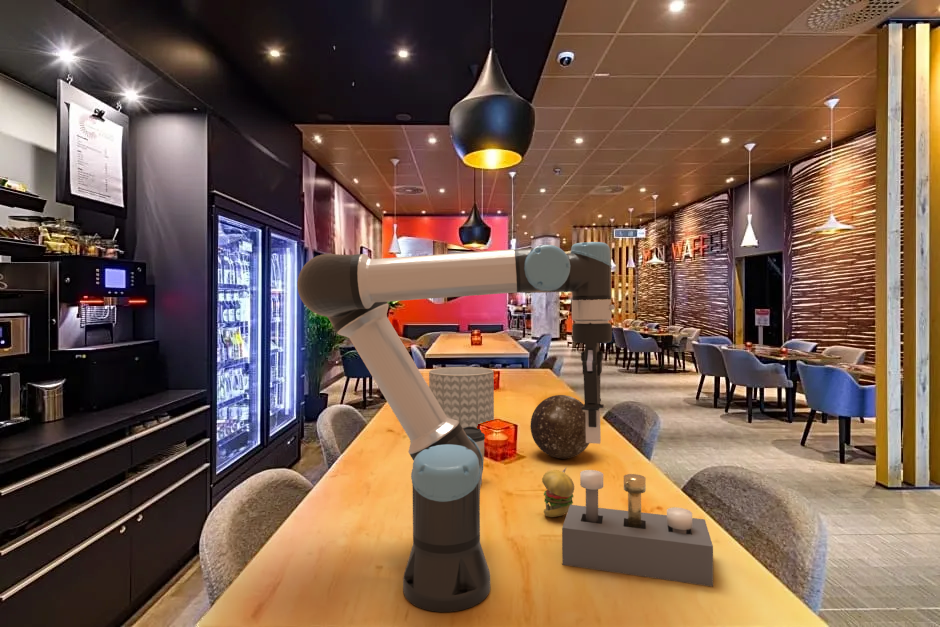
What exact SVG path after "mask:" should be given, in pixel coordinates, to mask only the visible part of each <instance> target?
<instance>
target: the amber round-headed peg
mask: <svg viewBox="0 0 940 627" xmlns="http://www.w3.org/2000/svg"><path fill="white" fill-rule="evenodd" d="M646 489H647V488H646V477H645V476H644V475H641V474H638V473H637V474H636V473H628V474H624V475H623V491H625V492H627V511H628V527H632V528H641V512H642V494H645V492H646Z"/></svg>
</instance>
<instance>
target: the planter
mask: <svg viewBox="0 0 940 627" xmlns="http://www.w3.org/2000/svg"><path fill="white" fill-rule="evenodd" d="M428 375H429V376H428V381H429V382H428V386H429V388H430V389H431V391H432V393H433V394H434V396H435V398H436V399H437V401H438V403H439V405H440V406H441V408H442V410H443V411H444V413H445V415H446V416H447V417H448V418H450V419H454V420H458V422H459V423H460V425H461V426H462V428H466V427H468V426H471V427H475V428H477V426H478V424H480V423H483V422H486V421H490V420H494V421H495V406H494V405H495V399H494V398H495V393H494V392H495V391H494V389H495V388H494V386H495V385H494V380H495V379H494V375H495V374H494V370H493V369H492V368H487V367H475V366H473V367H472V366H453V367H438V368H434V369H430V370H429V372H428Z"/></svg>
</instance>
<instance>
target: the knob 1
mask: <svg viewBox="0 0 940 627" xmlns="http://www.w3.org/2000/svg"><path fill="white" fill-rule="evenodd" d="M579 475H580V479H579V480H580V484H579V486H580V487H581V488H583V489H585V506H586V522H590V523H598V508H599V490H601V489H603V488H604V473H603V472H602V471H599V470H594V469H585V470H581V471H580V474H579Z"/></svg>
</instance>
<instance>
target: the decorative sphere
mask: <svg viewBox="0 0 940 627" xmlns="http://www.w3.org/2000/svg"><path fill="white" fill-rule="evenodd" d="M584 404H585V403H583V402H581V401H580V400H579V399H576V398H575V397H573V396H570V395H565V394H556V395H552V396H549V397H547V398H545V399H544V400H542V401H541V402H539V403H538V404H537V406H536V407H535V409H534V411H533V412H532V415H531V418H530V426H529V427H530V432H531V437H532V439H533V441H534V443H535V445H536V446H537V448H539V449H540V450H541V452H543V453H545V454H546V455H548V456H549V457H553V458H557V459H571V458H575V457H577V456H578V455H580V454H582V453H583V452H584V451H585V450H586V449H587V448H588V447H589V445H590V443H586V413H585V410H582V406H584Z"/></svg>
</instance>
